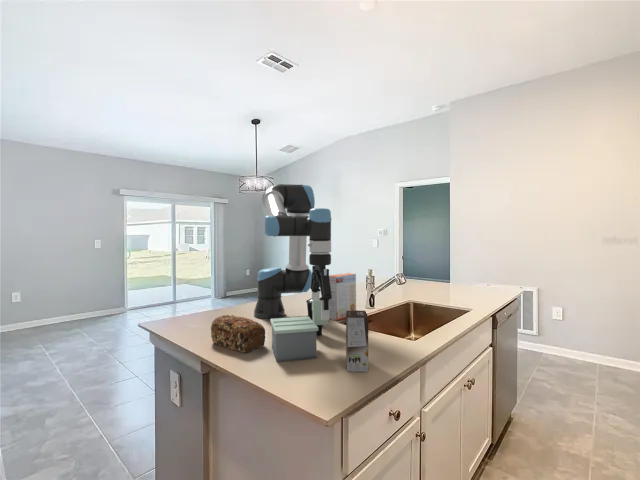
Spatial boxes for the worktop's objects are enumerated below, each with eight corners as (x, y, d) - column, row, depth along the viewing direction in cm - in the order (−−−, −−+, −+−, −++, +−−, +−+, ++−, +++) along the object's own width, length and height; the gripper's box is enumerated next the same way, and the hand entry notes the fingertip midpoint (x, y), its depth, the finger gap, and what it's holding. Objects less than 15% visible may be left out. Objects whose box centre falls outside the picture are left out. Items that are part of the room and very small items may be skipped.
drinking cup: (323, 338, 126) (323, 286, 126) (304, 337, 128) (304, 286, 127) (327, 332, 134) (327, 283, 133) (308, 331, 135) (308, 283, 135)
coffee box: (369, 372, 95) (369, 317, 95) (347, 372, 96) (347, 317, 95) (365, 360, 104) (365, 310, 104) (345, 359, 105) (345, 310, 104)
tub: (271, 347, 117) (271, 321, 116) (307, 344, 120) (307, 319, 120) (276, 361, 103) (276, 333, 103) (316, 358, 106) (316, 330, 106)
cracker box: (347, 313, 165) (347, 272, 165) (356, 316, 161) (356, 273, 161) (327, 318, 156) (327, 274, 156) (336, 321, 151) (336, 276, 151)
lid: (270, 321, 117) (270, 299, 117) (321, 318, 121) (321, 296, 121) (274, 334, 102) (274, 308, 102) (333, 329, 107) (333, 305, 107)
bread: (210, 344, 120) (209, 317, 120) (233, 336, 129) (233, 311, 129) (243, 355, 109) (243, 325, 109) (266, 346, 118) (266, 318, 118)
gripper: (302, 251, 124) (302, 307, 125) (318, 255, 100) (318, 324, 100) (321, 251, 126) (321, 306, 126) (341, 255, 102) (341, 323, 102)
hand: (320, 314), depth 113 cm, fingers open, 13 cm apart
